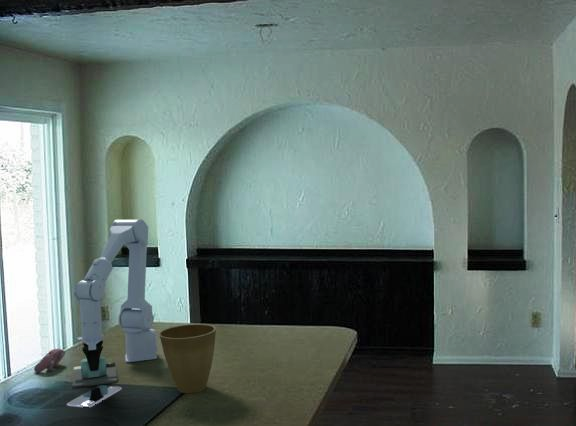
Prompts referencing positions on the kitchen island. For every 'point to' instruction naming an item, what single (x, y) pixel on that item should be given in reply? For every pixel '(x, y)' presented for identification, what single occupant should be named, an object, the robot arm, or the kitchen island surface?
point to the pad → (95, 379)
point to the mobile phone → (94, 396)
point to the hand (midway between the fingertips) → (94, 368)
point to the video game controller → (50, 360)
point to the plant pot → (189, 355)
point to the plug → (89, 374)
